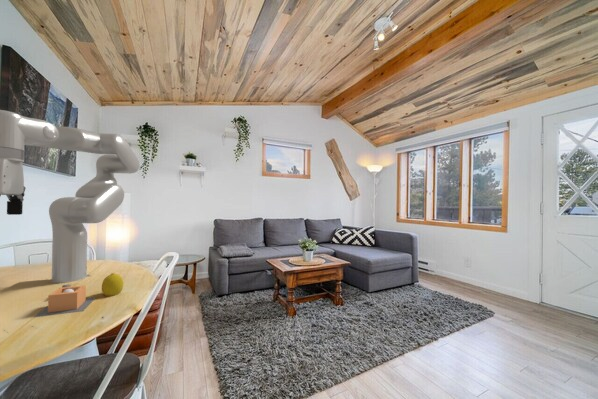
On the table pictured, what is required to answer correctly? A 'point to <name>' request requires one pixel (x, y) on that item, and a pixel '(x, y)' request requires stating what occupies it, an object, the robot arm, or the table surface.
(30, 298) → the table surface
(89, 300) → the plate
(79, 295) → the collar
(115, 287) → the lemon
